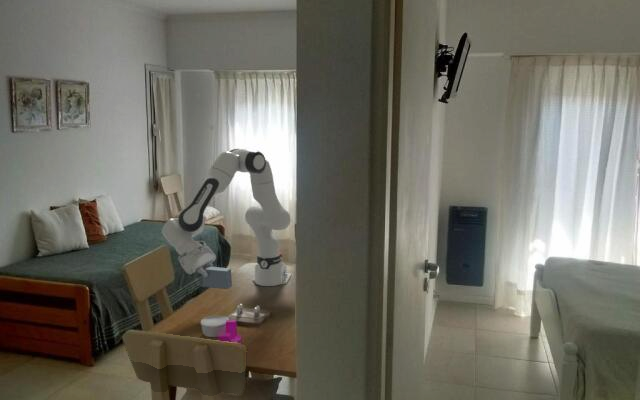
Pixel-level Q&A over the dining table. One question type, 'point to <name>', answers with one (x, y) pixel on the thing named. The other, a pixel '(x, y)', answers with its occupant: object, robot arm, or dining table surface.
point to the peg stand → (250, 316)
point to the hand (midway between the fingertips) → (210, 273)
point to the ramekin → (214, 325)
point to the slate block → (217, 278)
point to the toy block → (230, 332)
